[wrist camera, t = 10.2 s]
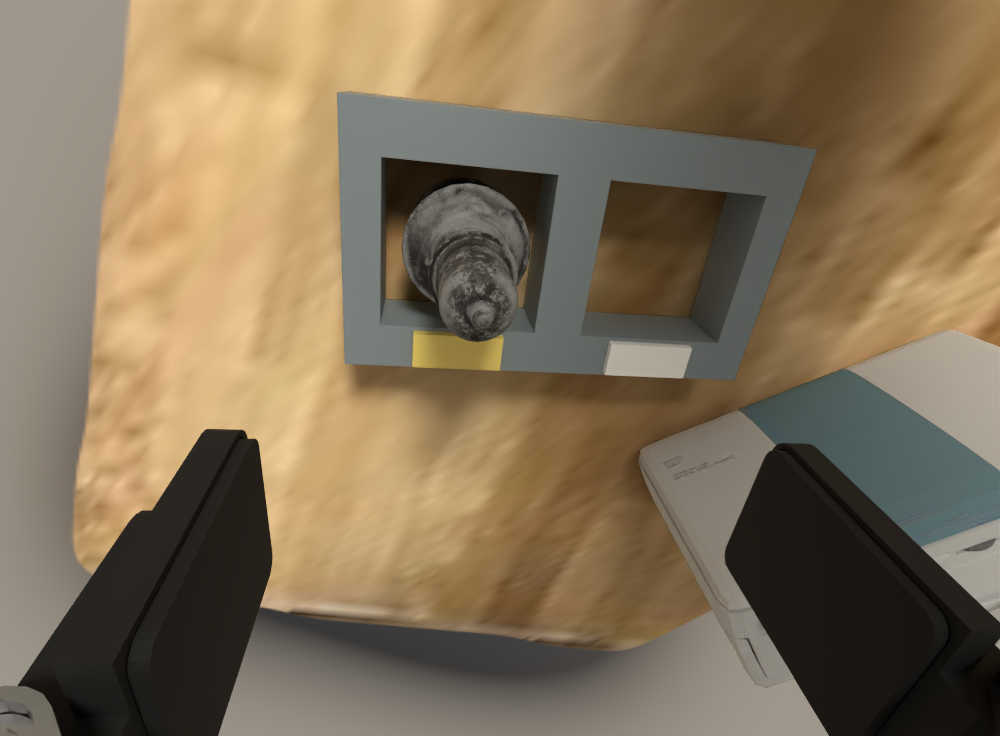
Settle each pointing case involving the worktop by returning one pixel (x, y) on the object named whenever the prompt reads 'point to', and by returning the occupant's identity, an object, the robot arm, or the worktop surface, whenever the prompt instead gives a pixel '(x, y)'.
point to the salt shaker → (468, 256)
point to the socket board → (563, 238)
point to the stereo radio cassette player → (850, 469)
